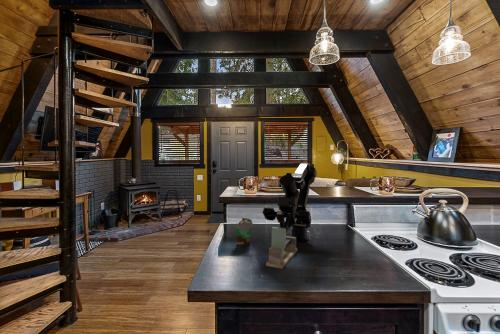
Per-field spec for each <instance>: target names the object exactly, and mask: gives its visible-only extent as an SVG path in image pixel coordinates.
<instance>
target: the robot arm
mask: <svg viewBox="0 0 500 334" xmlns="http://www.w3.org/2000/svg"><path fill="white" fill-rule="evenodd" d="M316 169H317V168H316V167H315V166H312V165H311V164H310V163H308V162H301V163H298V167H297V168H296V170H295V172H293V173H292V172H286V174H285V175H282V176H281V177H280V178H279V184H280V186H281V189H282V191H283V193H284V196H279V197H277V204H276V205H277V207H278V210H277V211H276V210H275V208H274V207H264V208H263V210H262V214H263V216H264V217H263V218H265V220H266V221H275V220H277V222H278V223H279V228H286V233H287V232H288V231H289V229H291V228H292V229H291V237H296V242H298V243H302V242H305V241H309V240H310V238H309V237H307V236H308V232H307V231H308V229H310V228H311V224H312V215H311V212H310V210H308V209H307V203H308V198H309V193H310V188H311V185H313V183H315V181H316V178H317V173H318V172H317V170H316Z"/></svg>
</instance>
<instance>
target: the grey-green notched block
mask: <svg viewBox="0 0 500 334" xmlns="http://www.w3.org/2000/svg"><path fill="white" fill-rule="evenodd" d="M286 236H287V232H286V228H280V227H277V226H272V227H271V247H274V248H281V249H282V257H283V256H284V248H286Z"/></svg>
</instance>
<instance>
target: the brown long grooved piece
mask: <svg viewBox="0 0 500 334" xmlns="http://www.w3.org/2000/svg"><path fill="white" fill-rule="evenodd" d="M297 251H298V248H297V241H296V237H292V236H290V235H289V236H288V235H286V248H284V256H283V257H282V249H281V248H274V247H272V246H270V247H269V248H268V260H267V262H265V266H266V267H271V268H276V269H281V270H283V269H284V267H285V266H286V265H287V264H288V263H289V262H290V260H292V258H293V257H294V255H295V254H296V253H297Z"/></svg>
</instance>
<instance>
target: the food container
mask: <svg viewBox="0 0 500 334" xmlns="http://www.w3.org/2000/svg"><path fill="white" fill-rule="evenodd" d="M252 220H253V219H251V218H246V217H241V220H240V221H239V222H238V223H235V230H236V231H235V233H236V234H235V235H236V247H244V246H248V245H251V241H252V240H251V237H252V227H253V226H254V224H253V223H254V222H253V221H252Z"/></svg>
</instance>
